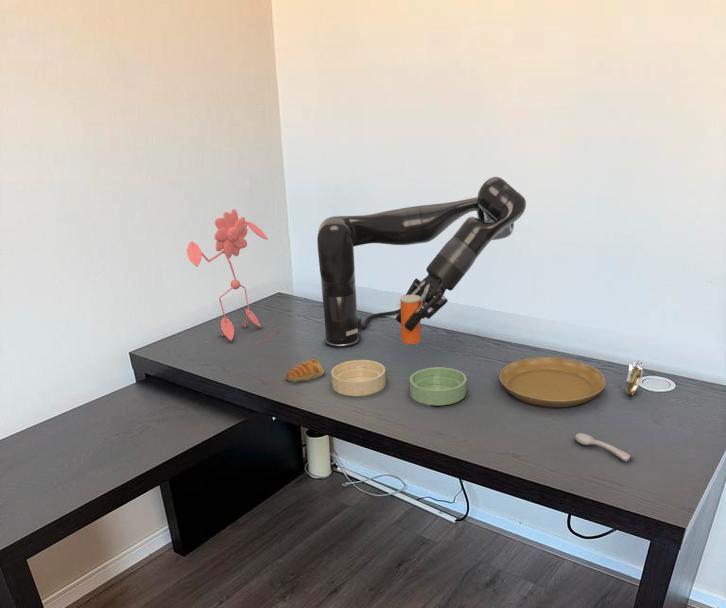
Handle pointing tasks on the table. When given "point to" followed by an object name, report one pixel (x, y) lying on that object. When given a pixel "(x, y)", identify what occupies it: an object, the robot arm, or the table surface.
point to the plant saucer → (552, 381)
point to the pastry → (305, 371)
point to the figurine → (231, 242)
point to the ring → (637, 374)
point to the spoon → (588, 440)
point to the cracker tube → (407, 309)
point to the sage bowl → (438, 386)
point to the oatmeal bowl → (358, 377)
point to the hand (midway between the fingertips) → (402, 324)
